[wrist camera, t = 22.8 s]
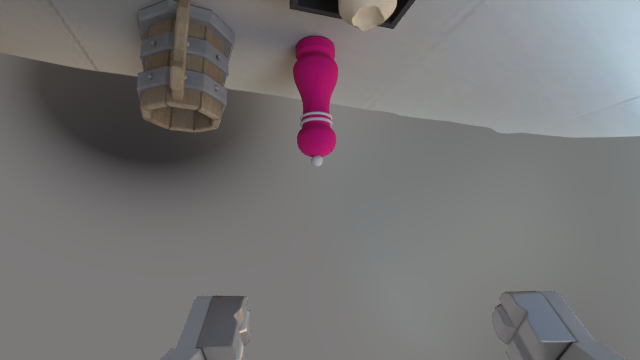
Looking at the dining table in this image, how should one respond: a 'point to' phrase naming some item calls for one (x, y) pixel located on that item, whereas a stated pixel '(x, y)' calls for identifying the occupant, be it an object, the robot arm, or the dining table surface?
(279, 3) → the dining table surface
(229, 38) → the tankard
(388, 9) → the candle
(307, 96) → the pepper mill
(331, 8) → the box
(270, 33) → the dining table surface
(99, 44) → the dining table surface
